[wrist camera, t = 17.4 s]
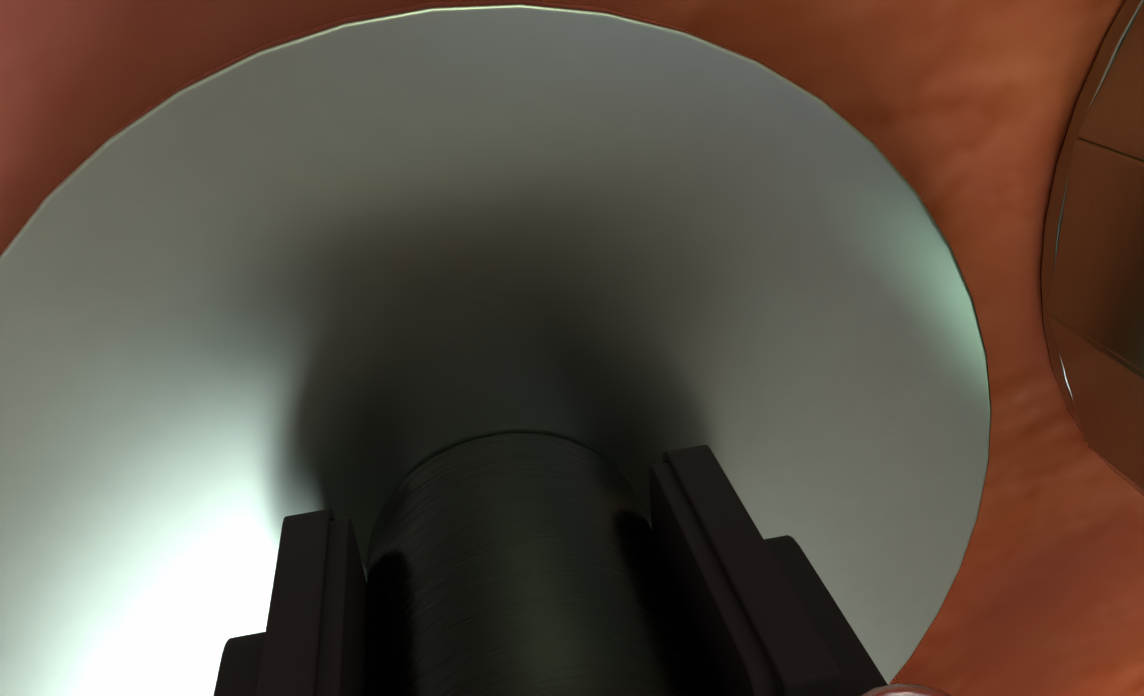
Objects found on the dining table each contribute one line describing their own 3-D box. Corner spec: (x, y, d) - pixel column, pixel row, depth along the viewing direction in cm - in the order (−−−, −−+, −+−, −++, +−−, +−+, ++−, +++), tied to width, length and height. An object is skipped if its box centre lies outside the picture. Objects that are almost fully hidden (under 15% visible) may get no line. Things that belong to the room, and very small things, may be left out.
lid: (138, 914, 16) (-9, 1535, 10) (-242, 67, 10) (-1224, 348, 4) (914, 746, 17) (1192, 1190, 11) (999, -66, 11) (1676, -19, 5)
